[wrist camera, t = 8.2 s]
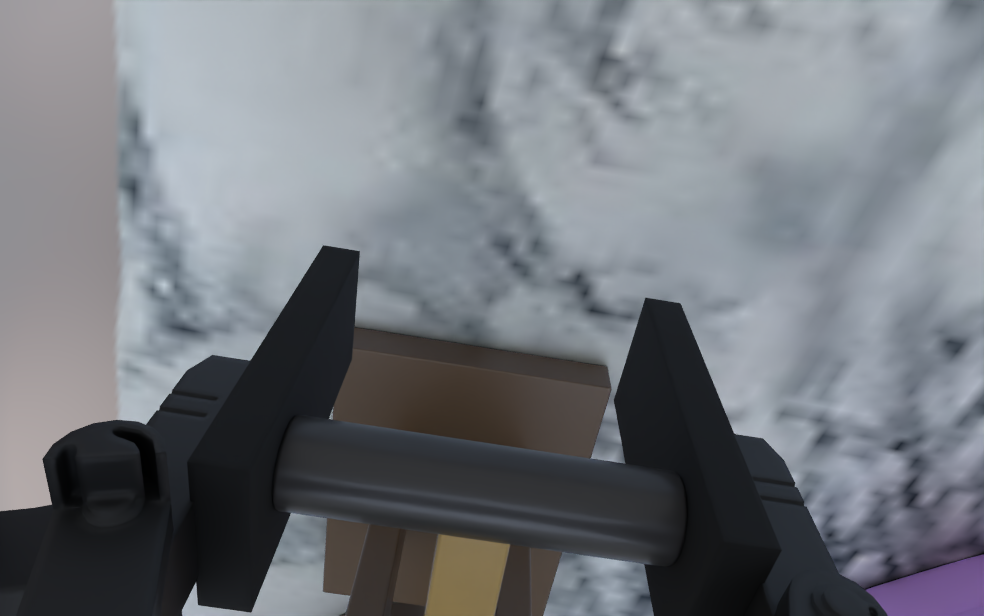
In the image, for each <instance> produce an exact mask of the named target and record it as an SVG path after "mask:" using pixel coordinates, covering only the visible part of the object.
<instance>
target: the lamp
mask: <svg viewBox="0 0 984 616" xmlns="http://www.w3.org/2000/svg"><path fill="white" fill-rule="evenodd" d="M424 610H425V606H421V605H414V604H406V603H399V602H396V603H392V608H391V613H390V616H424ZM345 615H346V614H343V615H341V616H345Z"/></svg>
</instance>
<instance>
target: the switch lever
mask: <svg viewBox="0 0 984 616" xmlns="http://www.w3.org/2000/svg"><path fill="white" fill-rule="evenodd" d="M272 497H273V505H274V508H275V509H276V510H278V511H281V512H288V513H295V514H302V515H309V516H316V517H323V518H330V519H337V520H344V521H351V522H358V523H365V524H371V525H378V526H385V527H392V528H399V529H406V530H413V531H420V532H427V533H434V534H437V538H436V544H435V550H434V556H433V562H432V568H431V574H430V580H429V586H428V592H427V598H426V604H425V610H424V616H495V611H496V607H497V602H498V598H499V593H500V589H501V584H502V580H503V575H504V571H505V566H506V562H507V557H508V553H509V548H510V545H517V546H524V547H531V548H538V549H545V550H552V551H559V552H566V553H573V554H579V555H586V556H593V557H600V558H607V559H614V560H621V561H628V562H635V563H642V564H649V565H656V566H663V567H668V566H671V565H673V564H674V563H675V562H676V560H677V559H678V557H679V555H680V552H681V549H682V546H683V542H684V538H685V533H686V525H687V500H686V492H685V487H684V484H683V481H682V479H681V477H680V476H679V475H678V474H677V473H676V472H674V471H670V470H663V469H657V468H650V467H643V466H637V465H630V464H623V463H617V462H610V461H603V460H597V459H590V458H583V457H577V456H570V455H563V454H557V453H550V452H544V451H537V450H530V449H524V448H517V447H510V446H504V445H497V444H490V443H484V442H477V441H470V440H464V439H457V438H450V437H444V436H437V435H431V434H424V433H417V432H411V431H404V430H397V429H391V428H384V427H377V426H371V425H364V424H357V423H351V422H344V421H337V420H331V419H324V418H318V417H311V416H304V415H297V416H294V417H293V418H292V420H291V421H290V423H289V425H288V427H287V429H286V431H285V433H284V436H283V439H282V442H281V445H280V448H279V452H278V456H277V460H276V465H275V471H274V477H273V488H272Z"/></svg>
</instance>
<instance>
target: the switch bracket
mask: <svg viewBox="0 0 984 616" xmlns="http://www.w3.org/2000/svg"><path fill="white" fill-rule="evenodd" d="M610 392H611V384H610V378H609V373H608V368H607V367H605V366H599V365H592V364H586V363H580V362H573V361H567V360H561V359H554V358H548V357H541V356H535V355H529V354H522V353H516V352H509V351H503V350H497V349H490V348H484V347H477V346H471V345H465V344H458V343H452V342H446V341H439V340H433V339H426V338H420V337H414V336H407V335H401V334H394V333H388V332H382V331H375V330H369V329H362V328H356V327H354V339H353V353H352V361H351V363H350V366H349V368H348V371H347V373H346V376H345V378H344V381H343V383H342V386H341V388H340V391H339V393H338V396H337V398H336V401H335V403H334V408H333V420H337V421H344V422H351V423H357V424H364V425H371V426H377V427H384V428H391V429H397V430H404V431H411V432H417V433H424V434H431V435H437V436H444V437H450V438H457V439H464V440H470V441H477V442H484V443H490V444H497V445H504V446H510V447H517V448H524V449H530V450H537V451H544V452H550V453H557V454H563V455H570V456H577V457H583V458H591V455H592V452H593V448H594V445H595V442H596V439H597V435H598V432H599V429H600V425H601V422H602V419H603V415H604V412H605V409H606V406H607V402H608V399H609V396H610ZM436 538H437V534H434V533H427V532H420V531H413V530H406V529H399V528H392V527H385V526H378V525H371V524H365V523H358V522H351V521H344V520H337V519H330V518H327V529H326V546H325V564H324V581H323V592H328V593H335V594H342V595H349V596H350V599H349V603H348V607H347V611H346V615H345V616H390V613H391V608H392V602H399V603H406V604H414V605H421V606H425V604H426V598H427V592H428V586H429V580H430V574H431V568H432V562H433V556H434V550H435V544H436ZM561 554H562V552H559V551H552V550H545V549H538V548H531V547H524V546H517V545H510V548H509V553H508V557H507V562H506V566H505V571H504V575H503V580H502V584H501V589H500V593H499V598H498V602H497V607H496V611H495V616H543V614H544V610H545V607H546V604H547V600H548V597H549V594H550V590H551V587H552V584H553V581H554V577H555V574H556V571H557V567H558V564H559V561H560V557H561Z"/></svg>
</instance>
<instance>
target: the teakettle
mask: <svg viewBox="0 0 984 616" xmlns="http://www.w3.org/2000/svg"><path fill="white" fill-rule="evenodd" d="M866 591H867V592H868V593H869V594H871V595H872V596H873V597H874V598H875V599H876V601H877V602H878V603H879V604H880V606H881V607H882V608H883V609H884V610H885V612H886V613H887V615H888V616H984V554H982V555H979V556H975V557H971V558H968V559H964V560H961V561H957V562H953V563H950V564H947V565H943V566H940V567H937V568H933V569H930V570H927V571H923V572H920V573H917V574H914V575H910V576H907V577H904V578H901V579H897V580H894V581H891V582H888V583H885V584H881V585H878V586H875V587H872V588H869V589H866Z"/></svg>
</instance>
